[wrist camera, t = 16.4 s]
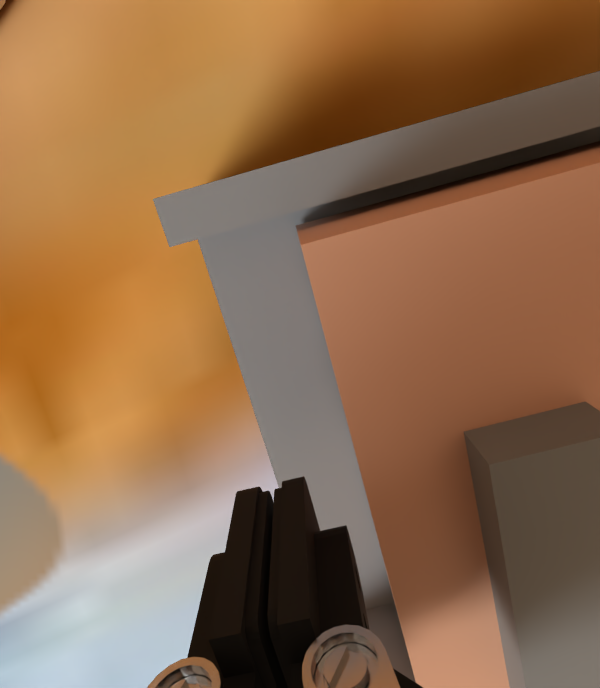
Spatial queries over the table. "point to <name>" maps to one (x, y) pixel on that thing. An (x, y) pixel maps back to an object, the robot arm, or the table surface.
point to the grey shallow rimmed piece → (297, 295)
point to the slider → (477, 412)
